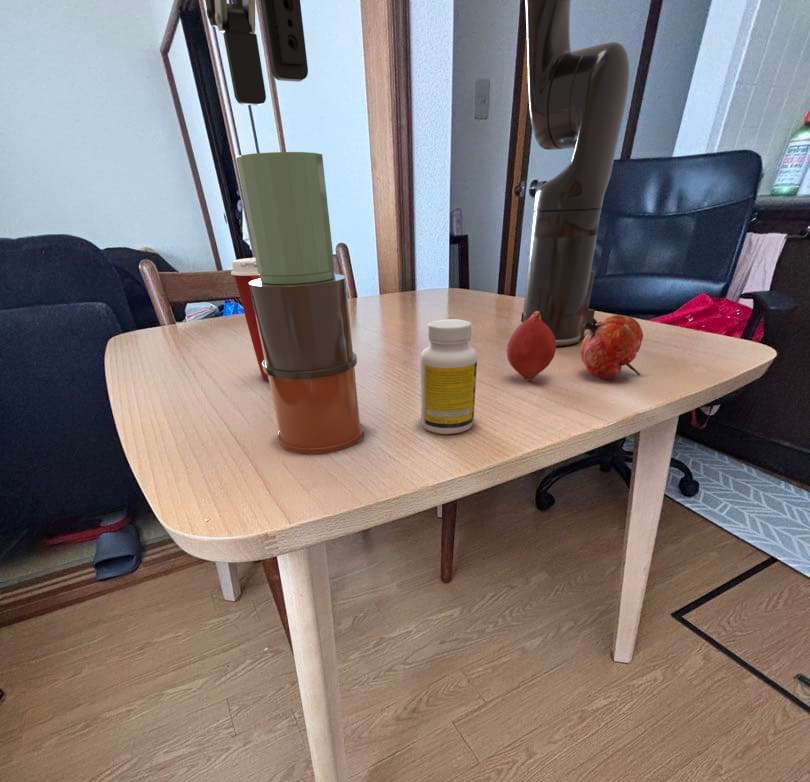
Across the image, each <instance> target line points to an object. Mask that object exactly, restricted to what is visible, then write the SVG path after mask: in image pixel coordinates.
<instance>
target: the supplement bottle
mask: <svg viewBox="0 0 810 782" xmlns="http://www.w3.org/2000/svg"><path fill="white" fill-rule="evenodd" d="M471 337H472V322H471V321H468V320H465V319H457V318H456V319H455V318H454V319H453V318H451V319H450V318H449V319H438V320H432V321H430V322H429V323H428V324H427V340H428V341H429V342H430V343H429V344H430V345H429V346H426V347H425V348H424V349H423V350H422V352H421V354H420V402H421V403H420V414H421V418H420V420H421V425H422V427H423V428H424V429H425V430H427V431H429V432H432V433H434V434H440V435H451V434H452V435H453V434H460V433H463V432H467V431H468V430H470V429H471V428H472V427H473V424H474V422H475V421H474V419H475V405H476V403H475V402H476V387H477V370H478V369H477V368H478V354H477V351H476V349H475V348H474V347H473V346H471V345H469V341H471Z"/></svg>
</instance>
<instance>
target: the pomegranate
mask: <svg viewBox="0 0 810 782" xmlns="http://www.w3.org/2000/svg"><path fill="white" fill-rule="evenodd" d="M584 327H587V328H588V331H589V333H587V334H586V335H585V336H584V338H583V339H582V340H583V341H582V343H581V347H580V355H581V357H580V358H581V362H582V364H583V365H584V366H585V368H586V370H587V371H588V372H589V373H590V375H592V376H594V377H596V378H599V379H603V380H609V379H612V378H613V379H614V378H615V377H617V376H618V374H620V372H621V370H622V366H626V367H628V368H629V369H630V370H632V371H633V372H634V373H635V374H636V375H637V376H641V373H640V372H639V371H638V370H637V369H636V368H635V367H634V366H633V365H632V364H631V363H632V362H633V360H634V359H635V358H636V356H637V353H638V352H639V351H640V348H641V346H642V341H643V339H644V332H643V329H642V327H641V324H640V323H639V322H638V321H637V320H636V319H635V318H633V317H632V316H628V315H624V314H621V315H620V314H615V315H610V316H609V317H606V318H604V319H603V320H601V321H597V324H596V325H593V324H591V323H588V322H586V323H585V325H584V326H583V328H584Z"/></svg>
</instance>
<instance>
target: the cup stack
mask: <svg viewBox="0 0 810 782" xmlns="http://www.w3.org/2000/svg"><path fill="white" fill-rule="evenodd" d="M249 286H250V291H251V296H252V300H253V305H254V310H255V315H256V320H257V325H258V330H259V335H260V340H261V344H262V349H263V354H264V359H265V360H264V361H263V362H262V366H263V371H264V372H265V373H266V374H267V375H268V379H269V381H268V382H269V389H270V393H271V397H272V403H273V407H274V412H275V417H276V418H275V419H276V423H277V427H278V432H277V436H276V437H277V443H278V444H279V446H280V448H282V449H283V450H285V451H286V452H287V451H288V452H290V453H294V454H297V455H298V454H299V455H324V454H331V453H336V452H339V451H343V450H346V449H348V448H351V447H353V446H355V445H357V443H359V442H360V441H361V440H362V439H363V437H364V434H365V433H364V432H365V431H364V425H363V424H362V423H361V419H360V411H359V401H358V391H357V378H356V370H355V367H356V366H357V364H358V358H357V354H356V353H355V352H354V349H353V347H354V346H353V339H352V338H353V337H352V328H351V316H350V308H349V295H348V287H347V277H346V276H345V275H343V274H339V273H335V278H333V279H331V280H327V281H321V282H314V283H305V284H288V285H274V284H264V283H261V281H260V279H257V280H253V281H251V282H250V283H249Z"/></svg>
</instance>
